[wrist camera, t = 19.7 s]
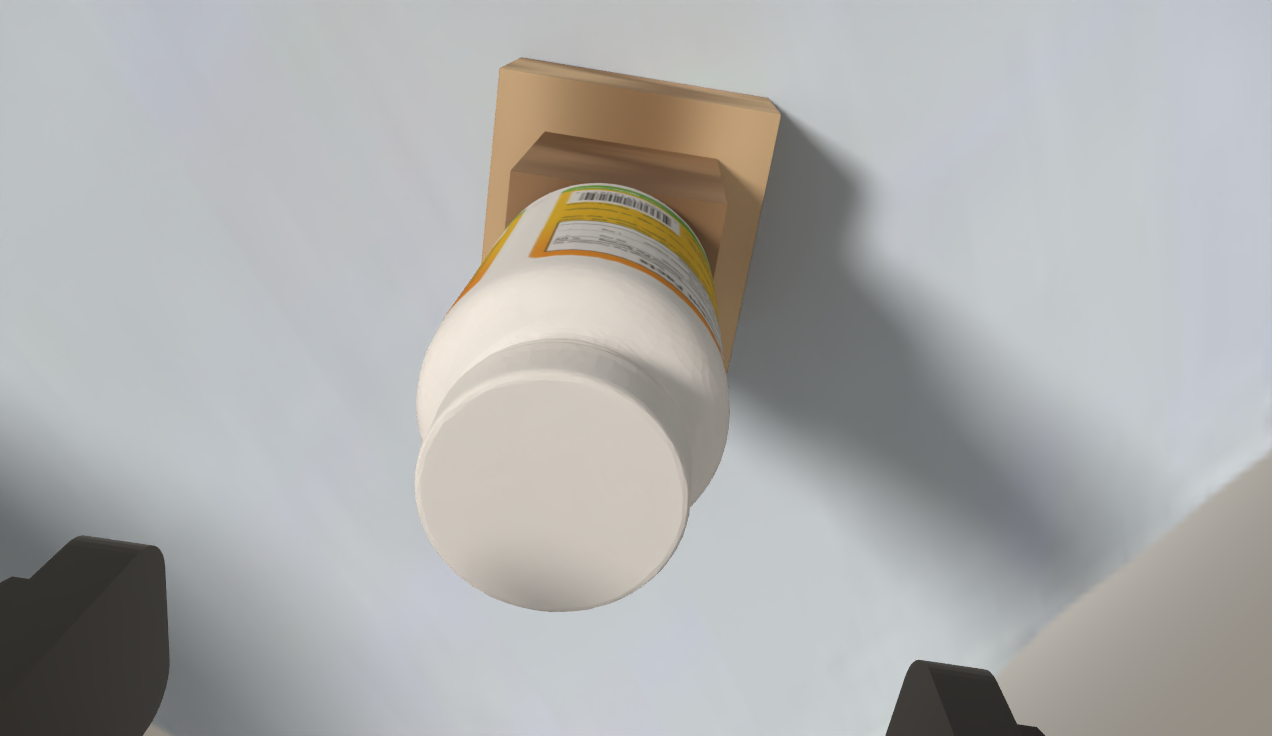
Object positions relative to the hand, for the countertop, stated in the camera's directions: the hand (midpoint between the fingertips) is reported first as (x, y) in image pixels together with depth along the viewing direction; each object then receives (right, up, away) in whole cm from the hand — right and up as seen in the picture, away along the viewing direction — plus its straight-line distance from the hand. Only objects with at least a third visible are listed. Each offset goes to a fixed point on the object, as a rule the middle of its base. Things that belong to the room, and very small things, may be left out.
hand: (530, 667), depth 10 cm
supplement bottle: (0, +5, +12) cm, 13 cm away
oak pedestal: (+1, +9, +21) cm, 23 cm away
